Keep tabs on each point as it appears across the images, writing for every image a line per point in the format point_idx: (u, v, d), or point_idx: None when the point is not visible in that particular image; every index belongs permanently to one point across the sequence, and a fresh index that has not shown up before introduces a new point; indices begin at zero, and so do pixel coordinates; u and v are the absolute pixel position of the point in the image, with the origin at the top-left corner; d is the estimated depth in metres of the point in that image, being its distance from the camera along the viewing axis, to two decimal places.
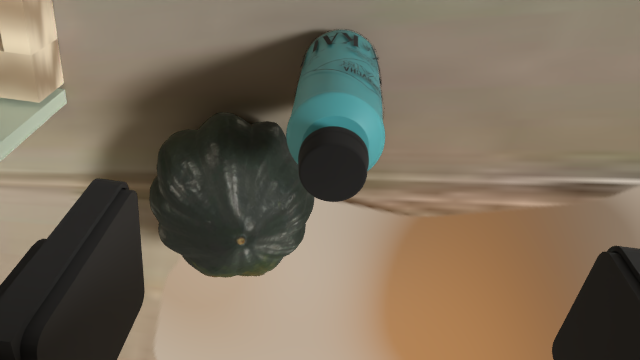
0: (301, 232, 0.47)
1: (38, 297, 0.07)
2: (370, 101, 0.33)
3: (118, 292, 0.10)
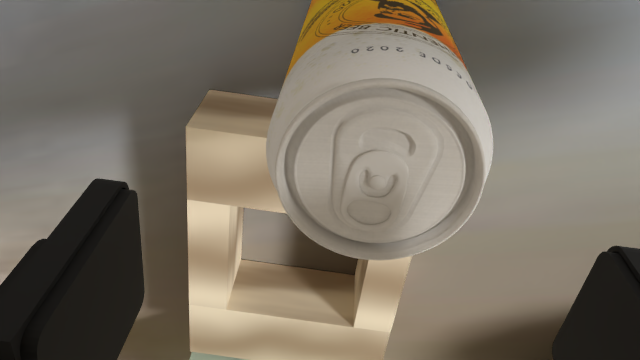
0: None
1: (38, 297, 0.07)
2: None
3: (118, 292, 0.10)
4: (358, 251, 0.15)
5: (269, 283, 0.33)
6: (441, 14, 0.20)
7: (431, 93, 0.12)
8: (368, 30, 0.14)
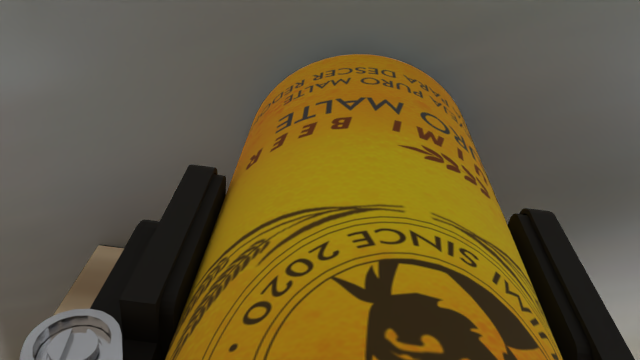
0: None
1: (168, 267, 0.08)
2: None
3: None
4: None
5: None
6: (501, 215, 0.09)
7: None
8: None
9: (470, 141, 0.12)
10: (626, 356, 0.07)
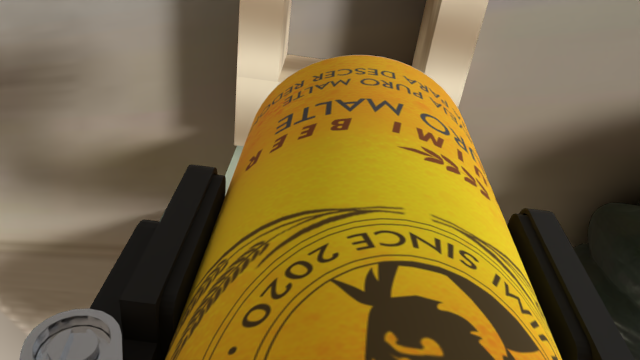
0: None
1: (168, 267, 0.08)
2: None
3: None
4: None
5: None
6: (501, 217, 0.09)
7: None
8: None
9: (470, 142, 0.12)
10: (626, 356, 0.07)
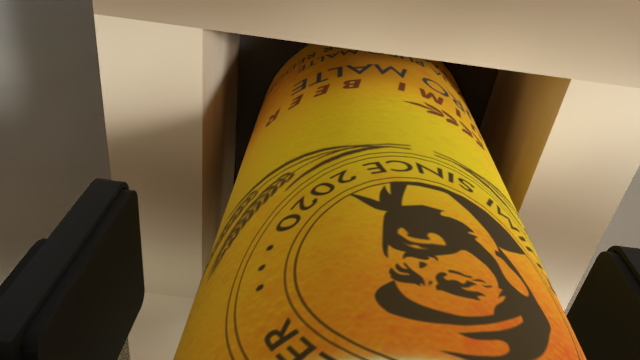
0: None
1: (39, 297, 0.07)
2: None
3: (118, 292, 0.10)
4: None
5: None
6: None
7: None
8: None
9: (467, 107, 0.13)
10: None
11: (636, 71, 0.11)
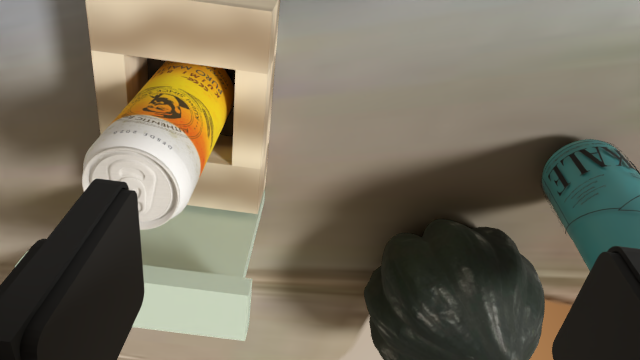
0: None
1: (38, 297, 0.07)
2: None
3: (118, 292, 0.10)
4: None
5: None
6: (210, 96, 0.36)
7: (142, 153, 0.27)
8: (131, 119, 0.30)
9: (218, 80, 0.38)
10: None
11: (253, 67, 0.36)
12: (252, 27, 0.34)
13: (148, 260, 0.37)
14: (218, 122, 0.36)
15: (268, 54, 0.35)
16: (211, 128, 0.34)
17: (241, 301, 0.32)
